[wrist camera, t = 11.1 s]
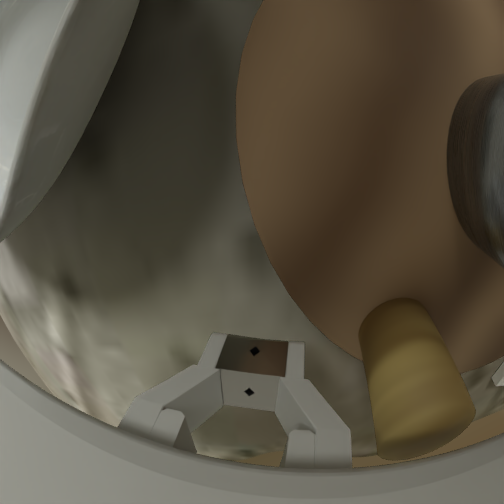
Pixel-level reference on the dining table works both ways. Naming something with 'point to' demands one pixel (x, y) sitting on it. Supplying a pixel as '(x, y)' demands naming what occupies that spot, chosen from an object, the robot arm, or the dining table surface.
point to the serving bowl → (50, 89)
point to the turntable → (375, 194)
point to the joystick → (499, 376)
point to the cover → (479, 164)
